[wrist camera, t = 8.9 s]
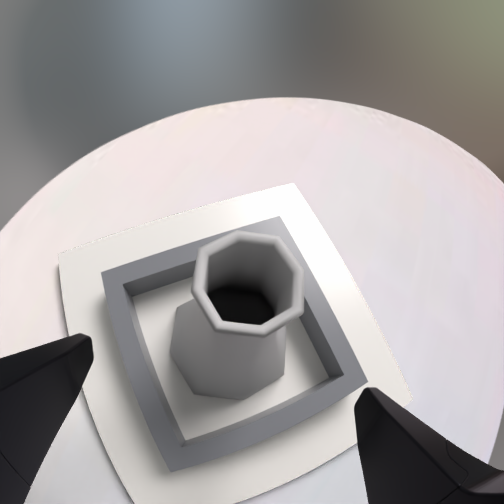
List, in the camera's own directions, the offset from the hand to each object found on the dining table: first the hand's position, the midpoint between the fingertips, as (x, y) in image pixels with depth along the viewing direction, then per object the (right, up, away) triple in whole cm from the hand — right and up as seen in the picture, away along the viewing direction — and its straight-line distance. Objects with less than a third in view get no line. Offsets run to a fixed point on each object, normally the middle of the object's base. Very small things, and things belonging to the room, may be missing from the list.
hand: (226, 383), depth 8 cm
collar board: (-1, -2, +9) cm, 10 cm away
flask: (-1, -2, +9) cm, 9 cm away
